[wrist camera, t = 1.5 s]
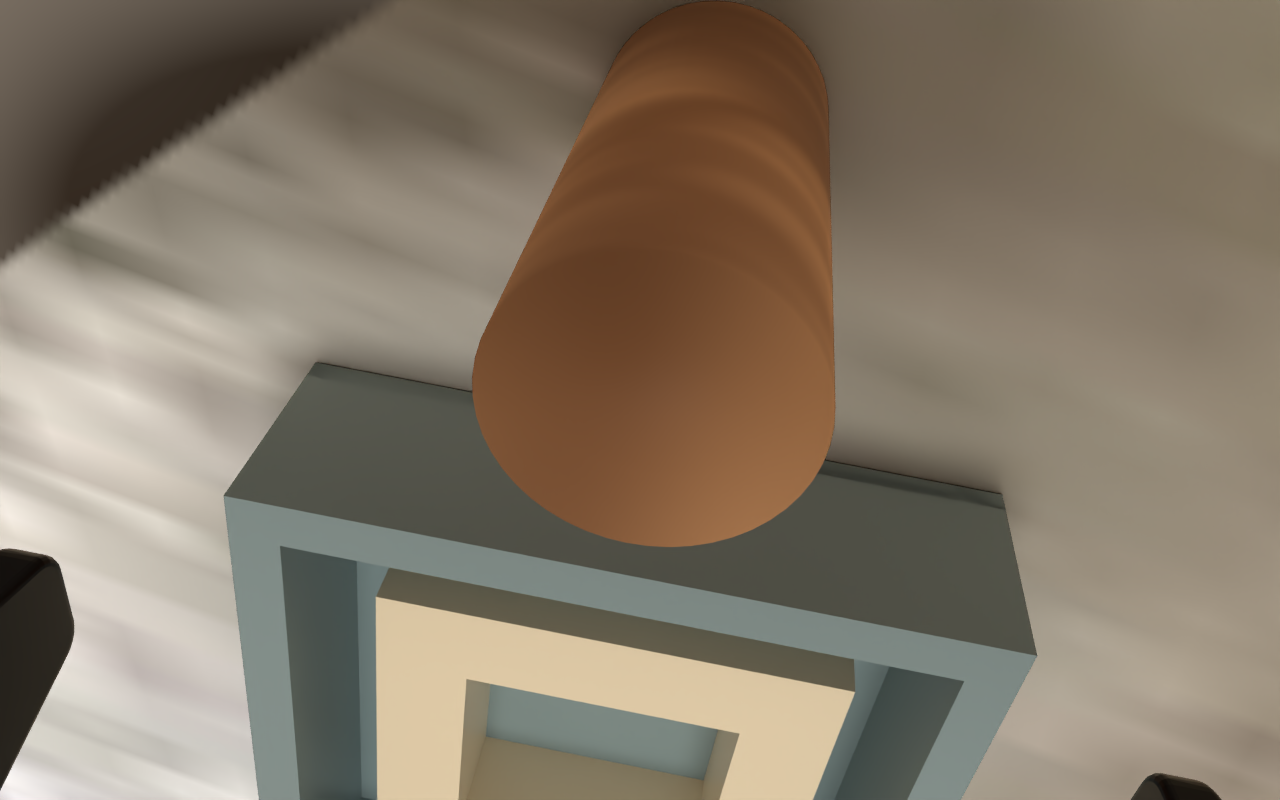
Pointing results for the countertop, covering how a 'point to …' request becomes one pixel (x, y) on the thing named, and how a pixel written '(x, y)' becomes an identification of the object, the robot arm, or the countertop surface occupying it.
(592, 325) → the peg
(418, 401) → the open box
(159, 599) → the countertop surface
